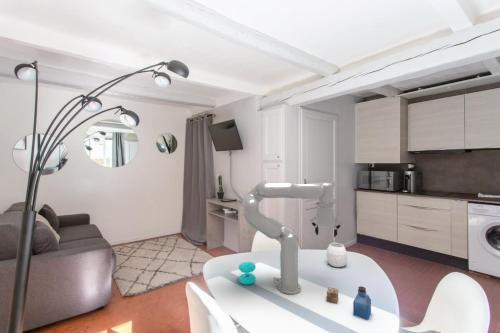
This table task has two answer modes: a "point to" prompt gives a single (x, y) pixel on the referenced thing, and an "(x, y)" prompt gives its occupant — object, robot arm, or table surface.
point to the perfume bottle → (362, 304)
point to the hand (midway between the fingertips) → (326, 235)
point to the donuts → (247, 273)
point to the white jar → (336, 255)
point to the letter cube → (332, 295)
